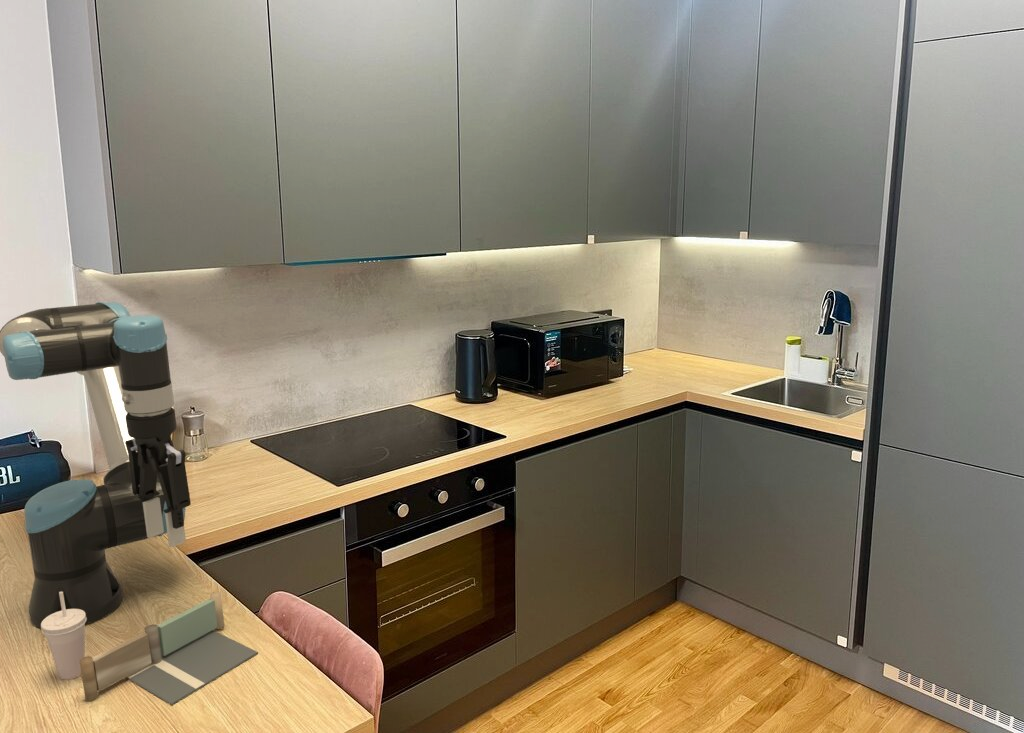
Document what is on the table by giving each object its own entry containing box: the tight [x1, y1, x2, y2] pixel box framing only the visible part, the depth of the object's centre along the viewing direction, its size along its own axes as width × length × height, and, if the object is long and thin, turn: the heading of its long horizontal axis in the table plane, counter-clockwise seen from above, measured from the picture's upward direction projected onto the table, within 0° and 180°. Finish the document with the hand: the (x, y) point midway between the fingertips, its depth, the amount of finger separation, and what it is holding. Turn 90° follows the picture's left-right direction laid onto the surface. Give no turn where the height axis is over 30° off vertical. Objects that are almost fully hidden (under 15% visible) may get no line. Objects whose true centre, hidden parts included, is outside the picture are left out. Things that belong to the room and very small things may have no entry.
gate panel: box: [156, 591, 225, 656], centre depth 139 cm, size 12×2×6 cm, turn 145°
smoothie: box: [40, 592, 87, 681], centre depth 130 cm, size 6×6×14 cm
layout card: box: [124, 629, 259, 706], centre depth 135 cm, size 20×16×1 cm
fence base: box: [79, 623, 162, 702], centre depth 129 cm, size 2×13×7 cm, turn 145°
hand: (166, 539), depth 141 cm, fingers open, 6 cm apart
